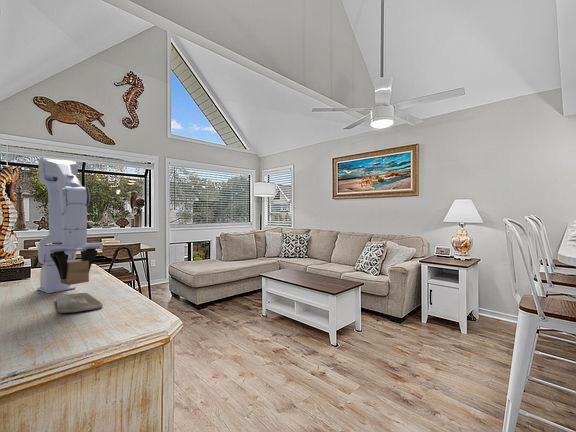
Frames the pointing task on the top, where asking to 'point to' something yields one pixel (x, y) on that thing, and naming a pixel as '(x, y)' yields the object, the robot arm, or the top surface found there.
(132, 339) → the top surface
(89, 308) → the stone
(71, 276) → the walnut block
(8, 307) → the top surface
